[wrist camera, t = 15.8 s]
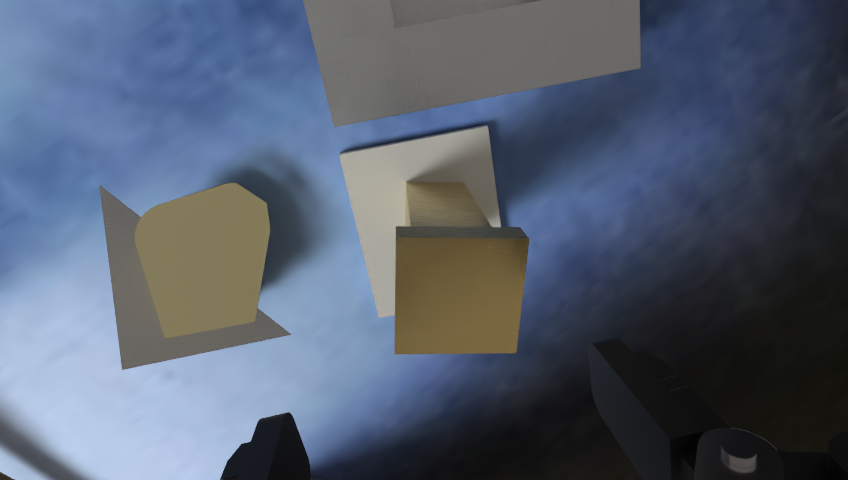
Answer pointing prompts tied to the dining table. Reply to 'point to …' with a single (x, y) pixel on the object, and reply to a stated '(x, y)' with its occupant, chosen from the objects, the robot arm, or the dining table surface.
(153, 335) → the stacked layers on plate
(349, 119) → the block
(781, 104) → the dining table surface
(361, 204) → the mat
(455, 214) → the capped wooden post
